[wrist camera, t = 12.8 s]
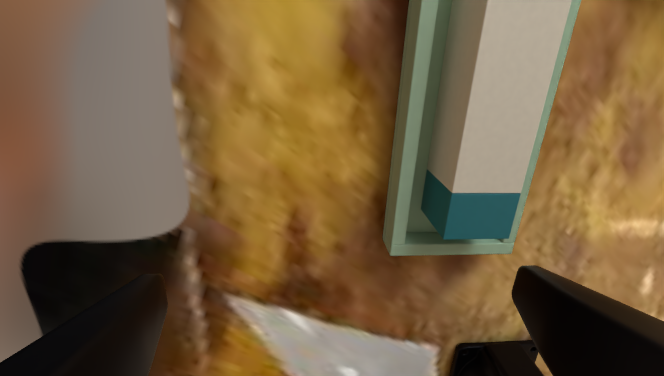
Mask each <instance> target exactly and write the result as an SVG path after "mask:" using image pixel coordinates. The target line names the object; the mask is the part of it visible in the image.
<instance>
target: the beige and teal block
mask: <svg viewBox="0 0 664 376" xmlns="http://www.w3.org/2000/svg"><path fill="white" fill-rule="evenodd" d="M571 2H572V0H452V5H451V12H450V19H449V25H448V32H447V39H446V45H445V52H444V58H443V65H442V72H441V78H440V85H439V92H438V98H437V105H436V111H435V118H434V125H433V131H432V138H431V145H430V151H429V158H428V164H427V171H426V178H425V184H424V191H423V198H422V204H421V210H422V212H423V213H424V214H425V216H426V217H427V218H428V220H429V221H430V222H431V224H432V225H433V226H434V228H435V229H436V230H437V232H438V233H439V234H440V236H441V237H442V238H443V239H444V240H453V239H509V236H510V233H511V229H512V225H513V221H514V218H515V214H516V210H517V206H518V202H519V199H520V195H521V194H520V193H521V191H522V187H523V183H524V180H525V176H526V172H527V168H528V165H529V161H530V157H531V153H532V149H533V146H534V142H535V138H536V134H537V131H538V127H539V123H540V119H541V115H542V112H543V108H544V104H545V100H546V96H547V93H548V89H549V85H550V81H551V78H552V74H553V70H554V66H555V62H556V59H557V55H558V51H559V47H560V44H561V40H562V36H563V32H564V28H565V25H566V21H567V17H568V13H569V9H570V6H571Z"/></svg>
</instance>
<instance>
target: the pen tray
mask: <svg viewBox="0 0 664 376" xmlns="http://www.w3.org/2000/svg"><path fill="white" fill-rule="evenodd" d="M580 2H581V0H572V2H571V6H570V9H569V13H568V17H567V21H566V25H565V28H564V32H563V36H562V40H561V44H560V47H559V51H558V55H557V59H556V62H555V66H554V70H553V74H552V78H551V81H550V85H549V89H548V93H547V96H546V100H545V104H544V108H543V112H542V115H541V119H540V123H539V127H538V131H537V134H536V138H535V142H534V146H533V149H532V153H531V157H530V161H529V165H528V168H527V172H526V176H525V180H524V183H523V187H522V191H521V193H520V194H521V195H520V199H519V202H518V206H517V210H516V214H515V218H514V221H513V225H512V229H511V233H510V236H509V239H453V240H444V239H443V238H442V237H441V236H440V234H439V233H438V232H437V230H436V229H435V228H434V226H433V225H432V224H431V222H430V221H429V220H428V218H427V217H426V216H425V214H424V213H423V212H422V210H421V204H422V198H423V191H424V184H425V178H426V171H427V164H428V158H429V151H430V145H431V138H432V131H433V125H434V118H435V111H436V105H437V98H438V92H439V85H440V78H441V72H442V65H443V58H444V52H445V45H446V39H447V32H448V25H449V19H450V12H451V5H452V0H409V6H408V15H407V24H406V33H405V42H404V51H403V60H402V69H401V77H400V86H399V95H398V104H397V113H396V122H395V131H394V140H393V149H392V158H391V167H390V176H389V185H388V193H387V202H386V211H385V220H384V229H383V238H382V239H383V241H384V243H385V245H386V247H387V250H388V252H389V254H390V256H414V255H474V254H511V253H512V249H513V246H514V242H515V239H516V235H517V231H518V228H519V224H520V221H521V217H522V213H523V210H524V206H525V202H526V199H527V195H528V191H529V188H530V184H531V181H532V177H533V173H534V170H535V166H536V162H537V159H538V155H539V151H540V148H541V144H542V141H543V137H544V133H545V130H546V126H547V122H548V119H549V115H550V111H551V108H552V104H553V101H554V97H555V93H556V90H557V86H558V82H559V79H560V75H561V71H562V68H563V64H564V61H565V57H566V53H567V50H568V46H569V42H570V39H571V35H572V31H573V28H574V24H575V21H576V17H577V13H578V10H579V6H580Z"/></svg>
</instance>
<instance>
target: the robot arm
mask: <svg viewBox="0 0 664 376" xmlns="http://www.w3.org/2000/svg"><path fill="white" fill-rule="evenodd" d="M512 299H513V302H514V304H515V306H516V308H517V310H518V312H519V314H520V316H521V318H522V320H523V322H524V324H525V326H526V328H527V330H528V332H529V334H530V336H531V338H532V340H527V341H505V342H482V343H462V344H459V345H458V346H457V347H456V349H455V354H454V358H453V362H452V367H451V371H450V375H449V376H544V375H543V374H542V372H541V371H540V370H539V368H538V367H537V366H536V364H535V361H536V358H537V355H538V352H539V353H540V355H541V357H542V358H543V360H544V362H545V364H546V365H547V367H548V368H549V370H550V372H551V373H552V375H553V376H664V321H662V320H659V319H657V318H655V317H653V316H650V315H648V314H646V313H643V312H641V311H639V310H637V309H634V308H632V307H630V306H628V305H625V304H623V303H621V302H619V301H616V300H614V299H612V298H609V297H607V296H605V295H603V294H600V293H598V292H596V291H594V290H591V289H589V288H587V287H584V286H582V285H580V284H578V283H575V282H573V281H571V280H569V279H566V278H564V277H562V276H559V275H557V274H555V273H553V272H550V271H548V270H546V269H544V268H541V267H539V266H535V265H534V266H521V267H520V268H519V269H518V271H517V275H516V278H515V282H514V285H513V289H512ZM167 307H168V301H167V295H166V289H165V283H164V278H163V276H162V275H161V274H143V275H141V276H139V277H137V278H136V279H134V280H133V281H131V282H129V283H128V284H126V285H125V286H123V287H121V288H120V289H118V290H117V291H115V292H113V293H112V294H110V295H108V296H107V297H105V298H104V299H102V300H100V301H99V302H97V303H96V304H94V305H92V306H91V307H89V308H88V309H86V310H84V311H83V312H81V313H79V314H78V315H76V316H75V317H73V318H71V319H70V320H68V321H67V322H65V323H63V324H62V325H60V326H59V327H57V328H55V329H54V330H52V331H50V332H49V333H47V334H46V335H44V336H42V337H41V338H39V339H38V340H36V341H34V342H33V343H31V344H30V345H28V346H26V347H25V348H23V349H21V350H20V351H18V352H17V353H15V354H13V355H12V356H10V357H9V358H7V359H5V360H4V361H2V362H1V363H0V376H148V374H149V371H150V368H151V365H152V361H153V358H154V354H155V351H156V348H157V344H158V341H159V337H160V334H161V330H162V327H163V323H164V320H165V316H166V313H167Z"/></svg>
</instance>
